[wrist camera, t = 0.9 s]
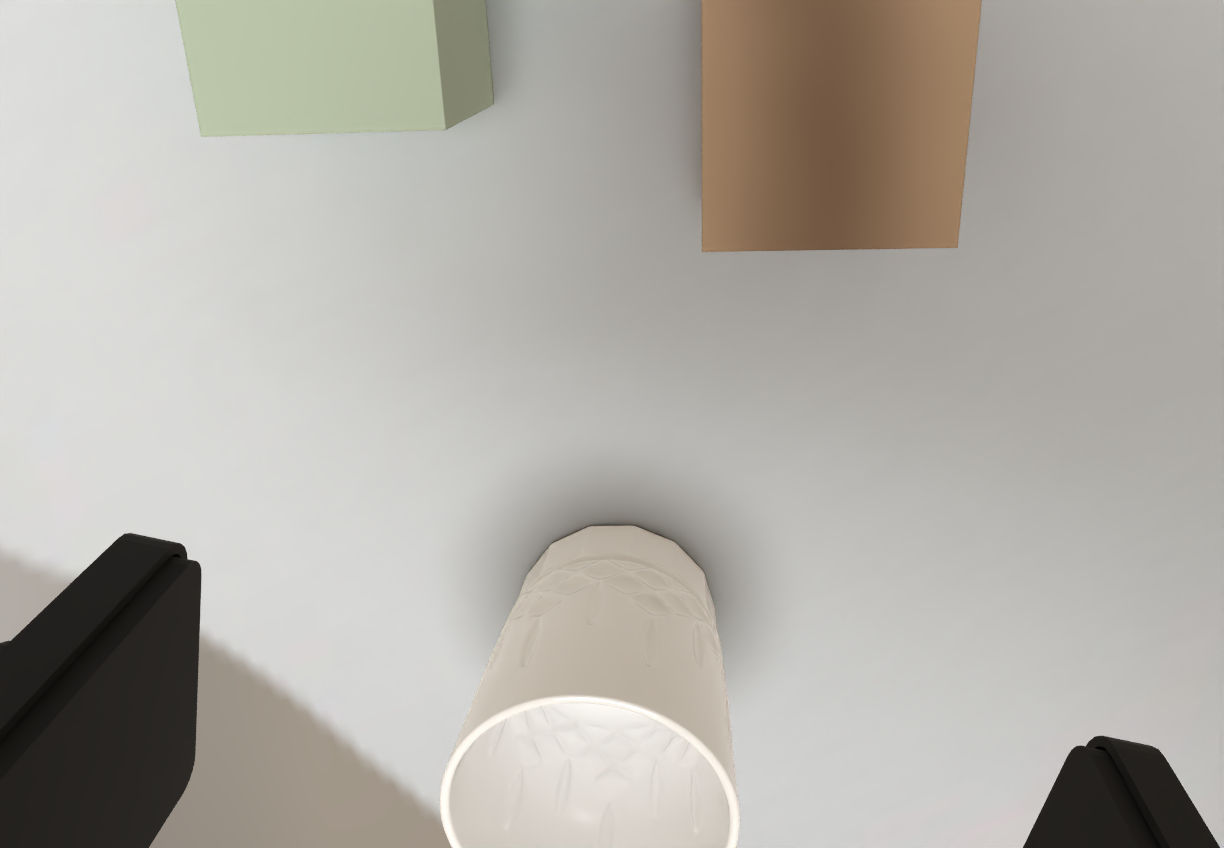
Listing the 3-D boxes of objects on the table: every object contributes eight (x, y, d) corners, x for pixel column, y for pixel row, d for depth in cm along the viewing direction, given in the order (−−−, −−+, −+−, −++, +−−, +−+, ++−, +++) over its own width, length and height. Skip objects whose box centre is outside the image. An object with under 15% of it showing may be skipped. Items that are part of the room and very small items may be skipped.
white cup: (753, 675, 36) (770, 907, 27) (546, 714, 38) (496, 947, 29) (698, 484, 33) (696, 670, 24) (476, 534, 35) (394, 727, 26)
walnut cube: (928, -27, 27) (984, -32, 22) (910, 199, 29) (957, 247, 24) (702, -18, 28) (701, -20, 22) (702, 203, 30) (701, 251, 24)
